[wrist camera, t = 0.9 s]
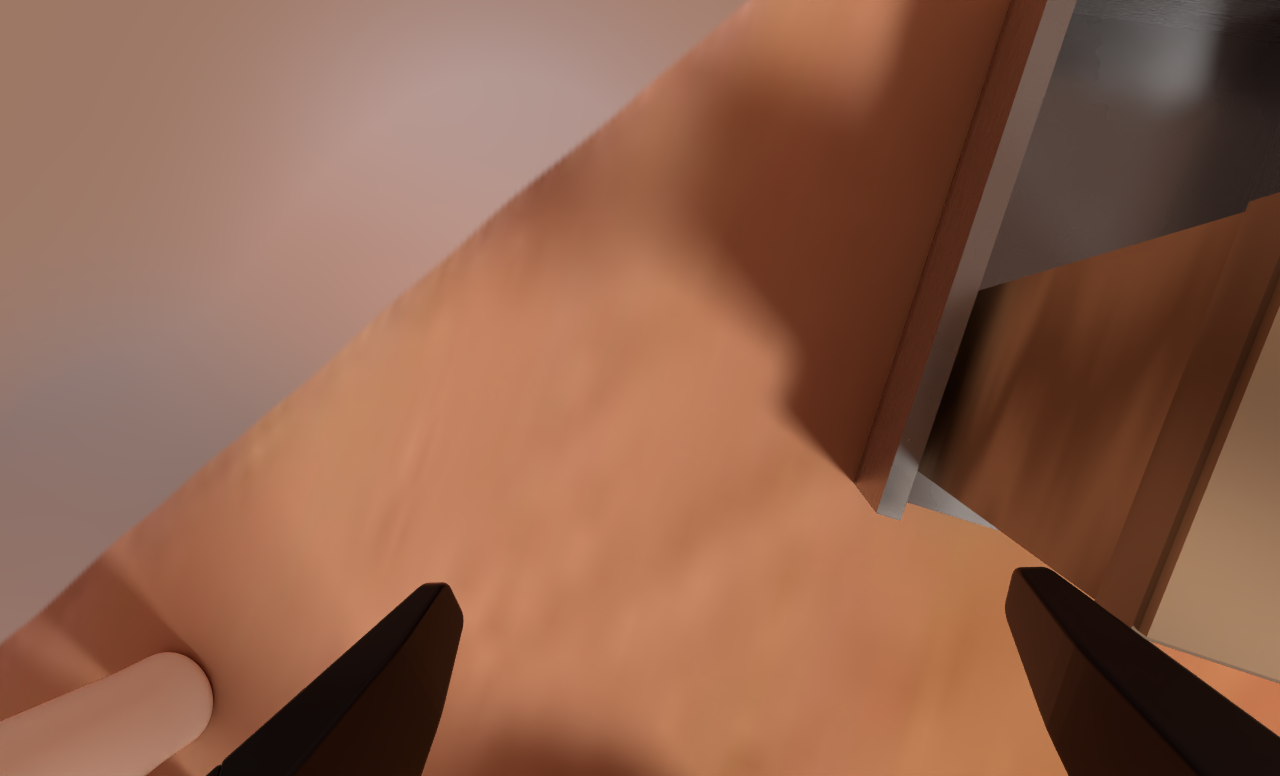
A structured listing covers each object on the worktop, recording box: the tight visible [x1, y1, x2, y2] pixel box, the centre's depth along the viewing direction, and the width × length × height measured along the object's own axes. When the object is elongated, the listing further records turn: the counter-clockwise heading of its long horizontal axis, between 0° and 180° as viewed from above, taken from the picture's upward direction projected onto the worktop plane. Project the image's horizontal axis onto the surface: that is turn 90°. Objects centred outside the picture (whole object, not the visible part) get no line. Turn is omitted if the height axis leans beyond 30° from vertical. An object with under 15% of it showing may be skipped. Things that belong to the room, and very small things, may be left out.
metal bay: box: [854, 0, 1280, 531], centre depth 19 cm, size 20×10×5 cm, turn 164°
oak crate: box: [917, 192, 1280, 684], centre depth 14 cm, size 7×7×14 cm
